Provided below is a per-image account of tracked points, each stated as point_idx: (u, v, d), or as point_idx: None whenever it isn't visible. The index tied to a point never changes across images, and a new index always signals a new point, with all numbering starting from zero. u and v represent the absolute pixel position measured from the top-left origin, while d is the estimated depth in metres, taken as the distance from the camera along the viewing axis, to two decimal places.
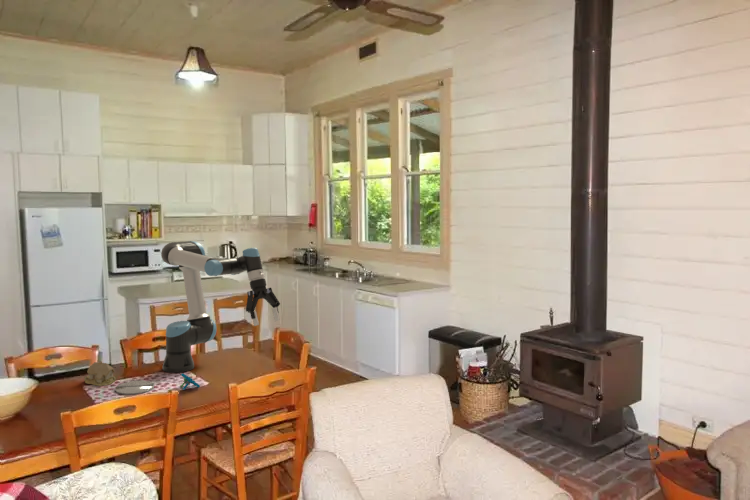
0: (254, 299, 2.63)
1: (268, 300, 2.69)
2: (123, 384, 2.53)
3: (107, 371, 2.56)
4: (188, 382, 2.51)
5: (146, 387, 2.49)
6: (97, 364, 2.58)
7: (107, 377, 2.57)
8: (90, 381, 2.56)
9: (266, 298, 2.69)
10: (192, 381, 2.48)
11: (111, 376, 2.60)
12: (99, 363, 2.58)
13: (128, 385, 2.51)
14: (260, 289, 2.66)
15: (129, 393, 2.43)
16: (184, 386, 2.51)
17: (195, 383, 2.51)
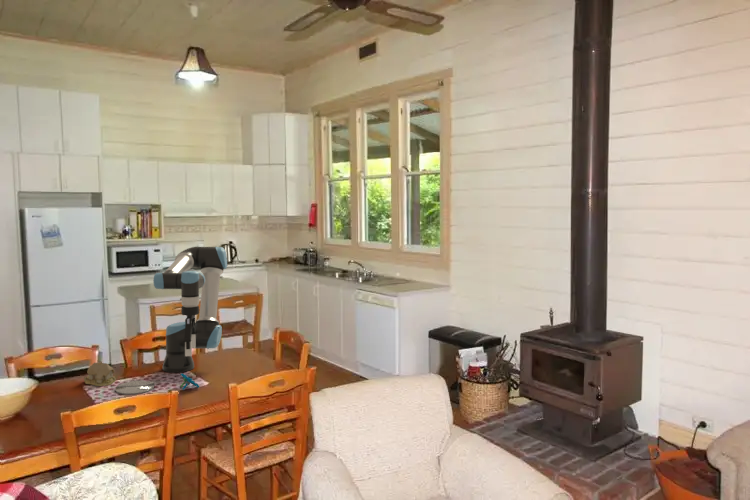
0: None
1: None
2: (123, 384, 2.53)
3: (107, 371, 2.56)
4: (187, 382, 2.51)
5: (146, 387, 2.49)
6: (97, 364, 2.58)
7: (107, 377, 2.57)
8: (90, 381, 2.55)
9: None
10: (191, 381, 2.48)
11: (111, 376, 2.60)
12: (99, 363, 2.57)
13: (128, 385, 2.51)
14: None
15: (129, 393, 2.43)
16: (184, 386, 2.51)
17: (194, 383, 2.51)
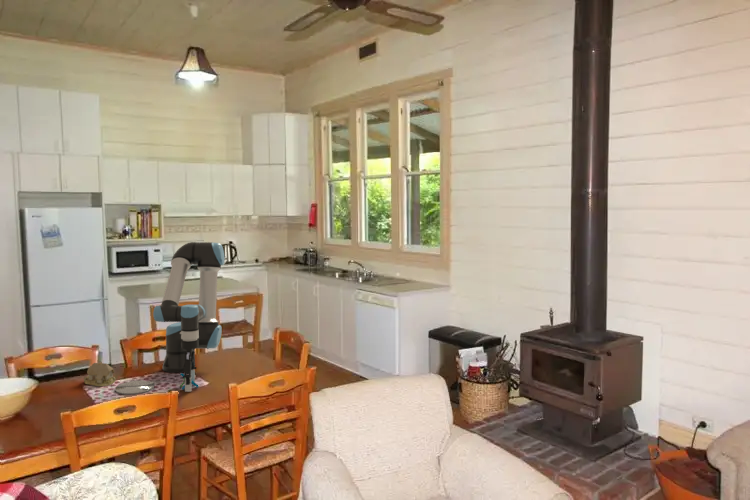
0: None
1: None
2: (123, 384, 2.53)
3: (107, 371, 2.56)
4: None
5: (146, 387, 2.49)
6: (97, 365, 2.57)
7: (107, 377, 2.56)
8: (90, 382, 2.55)
9: None
10: (191, 381, 2.48)
11: (111, 376, 2.60)
12: (99, 364, 2.57)
13: (128, 385, 2.51)
14: None
15: (129, 393, 2.43)
16: (183, 386, 2.51)
17: (194, 383, 2.51)
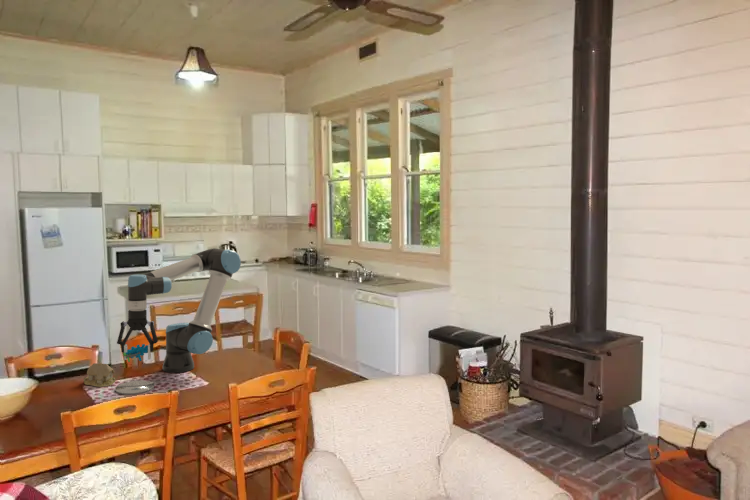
0: (128, 331, 2.48)
1: None
2: (123, 384, 2.53)
3: (107, 372, 2.55)
4: (140, 352, 2.49)
5: (146, 387, 2.49)
6: (97, 365, 2.56)
7: (107, 378, 2.56)
8: (90, 382, 2.54)
9: None
10: None
11: (111, 377, 2.59)
12: (99, 364, 2.56)
13: (128, 385, 2.51)
14: (136, 321, 2.47)
15: (129, 393, 2.43)
16: (140, 357, 2.47)
17: (143, 351, 2.52)
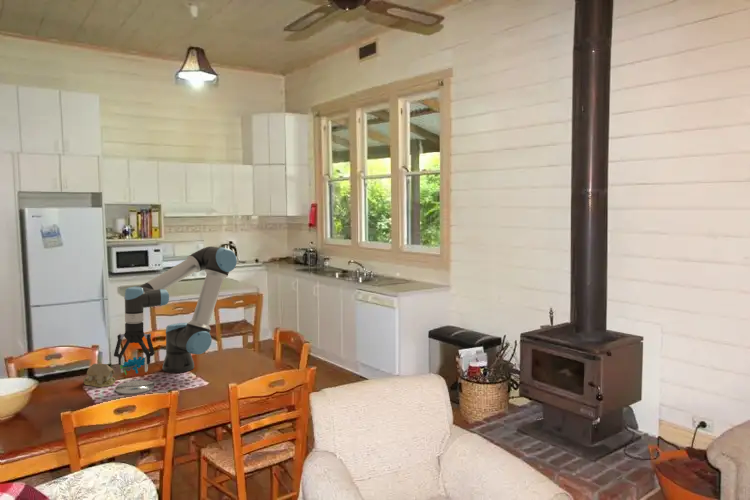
0: None
1: None
2: (123, 384, 2.53)
3: (108, 372, 2.55)
4: (136, 365, 2.49)
5: (146, 387, 2.49)
6: (97, 365, 2.56)
7: (107, 378, 2.56)
8: (90, 383, 2.54)
9: None
10: None
11: (111, 377, 2.59)
12: (99, 364, 2.56)
13: (128, 385, 2.51)
14: (132, 333, 2.48)
15: (129, 393, 2.43)
16: (136, 369, 2.48)
17: None
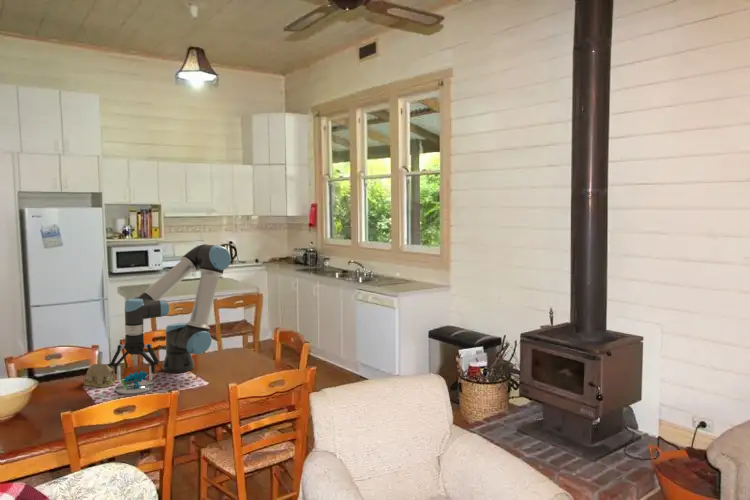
0: None
1: None
2: (123, 384, 2.53)
3: (108, 372, 2.55)
4: (138, 379, 2.50)
5: (146, 387, 2.49)
6: (97, 365, 2.56)
7: (107, 378, 2.55)
8: (90, 383, 2.53)
9: None
10: (146, 374, 2.52)
11: (111, 377, 2.58)
12: (99, 364, 2.56)
13: (128, 385, 2.51)
14: (133, 345, 2.48)
15: (129, 393, 2.43)
16: (138, 384, 2.48)
17: None
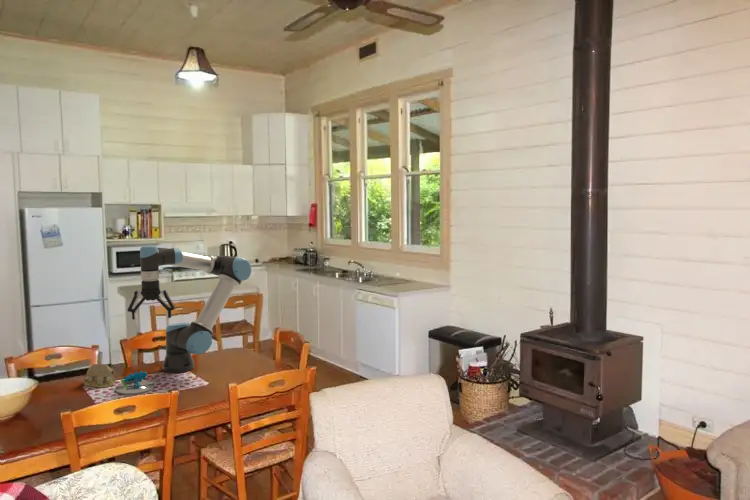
0: (141, 299, 2.53)
1: None
2: (123, 384, 2.53)
3: (108, 372, 2.54)
4: (138, 379, 2.50)
5: (146, 387, 2.49)
6: (97, 366, 2.55)
7: (108, 378, 2.55)
8: (90, 383, 2.53)
9: None
10: (146, 374, 2.52)
11: (111, 377, 2.58)
12: (99, 365, 2.55)
13: (128, 385, 2.51)
14: (149, 291, 2.52)
15: (129, 393, 2.43)
16: (138, 384, 2.48)
17: None
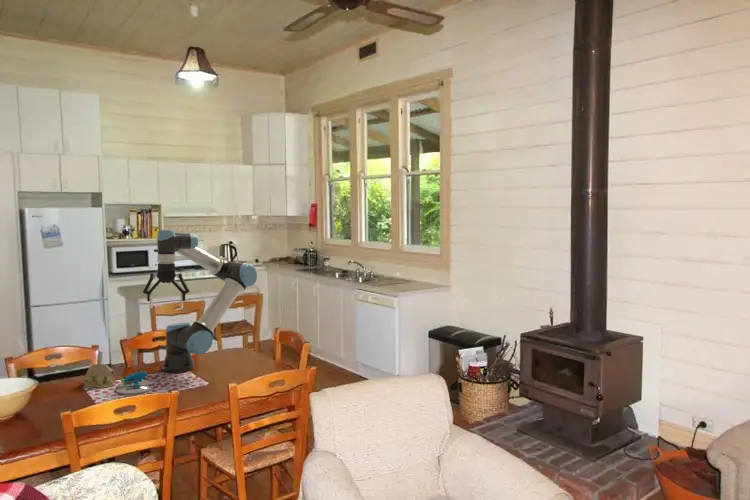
0: (156, 282, 2.59)
1: None
2: (123, 384, 2.53)
3: (108, 373, 2.54)
4: (138, 379, 2.50)
5: (146, 387, 2.49)
6: (96, 366, 2.55)
7: (108, 379, 2.55)
8: (90, 383, 2.52)
9: None
10: (146, 374, 2.52)
11: (111, 378, 2.58)
12: (99, 365, 2.55)
13: (128, 385, 2.51)
14: (165, 273, 2.58)
15: (129, 393, 2.43)
16: (138, 384, 2.48)
17: None
